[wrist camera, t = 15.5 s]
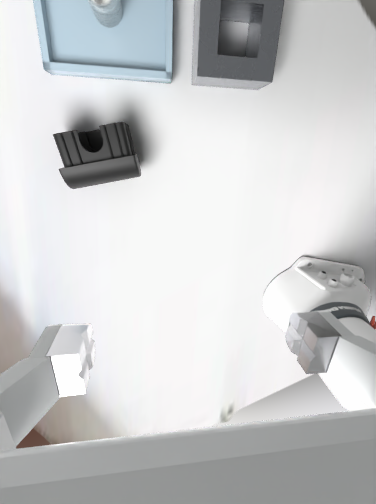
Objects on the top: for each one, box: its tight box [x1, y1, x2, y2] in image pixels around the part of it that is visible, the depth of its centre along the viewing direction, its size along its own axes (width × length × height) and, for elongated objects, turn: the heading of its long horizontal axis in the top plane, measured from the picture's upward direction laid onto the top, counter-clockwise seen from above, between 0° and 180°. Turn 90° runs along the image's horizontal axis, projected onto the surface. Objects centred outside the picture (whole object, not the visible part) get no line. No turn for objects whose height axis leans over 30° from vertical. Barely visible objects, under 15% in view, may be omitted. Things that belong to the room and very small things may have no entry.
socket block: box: [192, 0, 284, 90], centre depth 32 cm, size 10×10×5 cm
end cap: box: [53, 122, 141, 189], centre depth 35 cm, size 10×7×7 cm
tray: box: [33, 0, 173, 83], centre depth 30 cm, size 16×14×2 cm
